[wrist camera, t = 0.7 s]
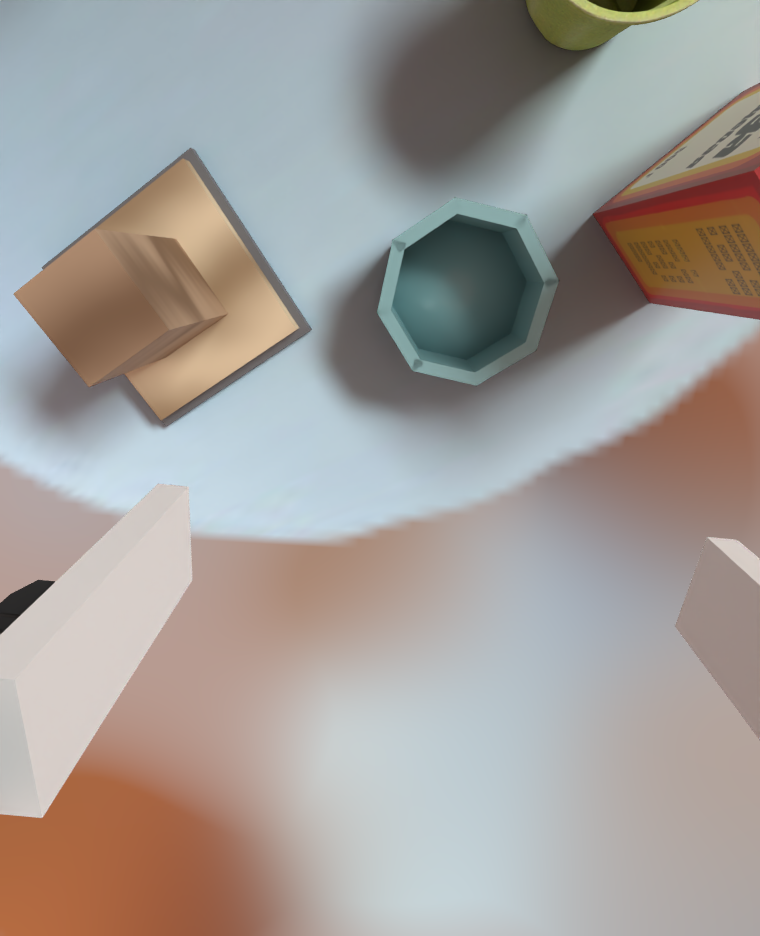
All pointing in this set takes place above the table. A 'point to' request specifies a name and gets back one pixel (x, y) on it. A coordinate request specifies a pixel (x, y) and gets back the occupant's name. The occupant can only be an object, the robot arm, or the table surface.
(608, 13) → the plant pot
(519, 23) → the table surface
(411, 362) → the bowl
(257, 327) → the lid
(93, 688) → the robot arm
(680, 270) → the baking soda box
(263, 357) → the mat
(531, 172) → the table surface
